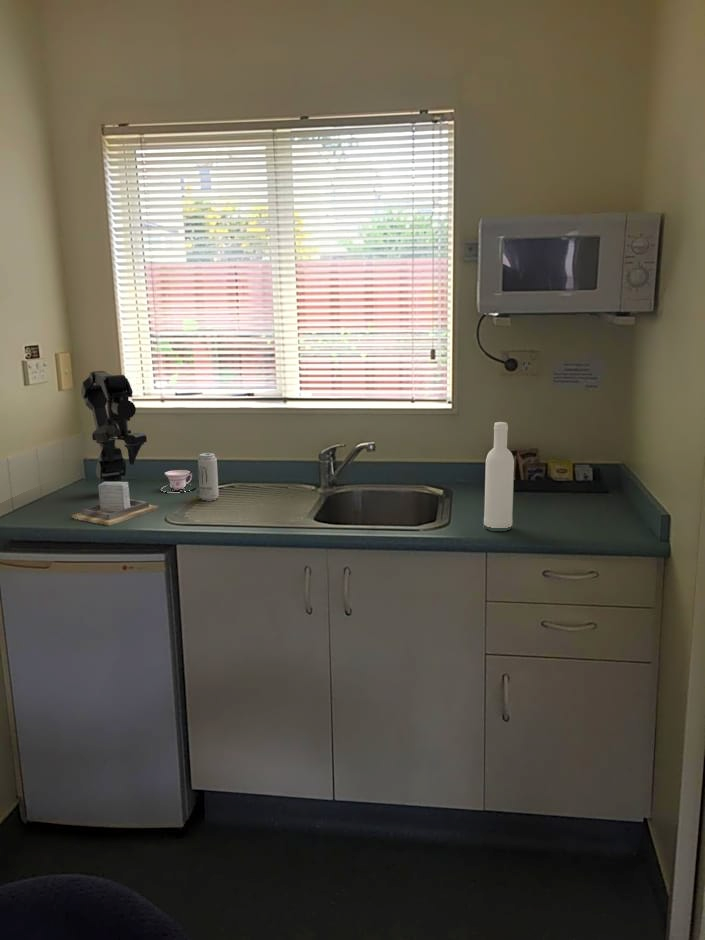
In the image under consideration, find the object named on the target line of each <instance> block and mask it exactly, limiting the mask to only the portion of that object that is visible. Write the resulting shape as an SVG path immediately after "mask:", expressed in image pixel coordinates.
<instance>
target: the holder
mask: <svg viewBox="0 0 705 940" xmlns="http://www.w3.org/2000/svg"><path fill="white" fill-rule="evenodd" d="M158 510H160V507H159V505H154V504H150V502H148V501H143V500H136V499H132V498H130V507H129V508H126V509H122V510H119V511H116V512H101V509H100V503H99V504H97V505H92V506H89V507H85V508H83V509H82V508H81V509H80V512H78V513H75V514H72V515H71V519H72V518H74V519H73V520H77V519H78V521H82V520H83V521H84V522H88V523H93V524H98V523H99V525H103V524H104V526H113V525H116V524H120V523H122V522H125V521H127V520H130V519H134V518H136V517H140V516H143V515H145V514H148V513H149V514H150V513H151V512H154V511H158Z"/></svg>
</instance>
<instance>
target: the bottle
mask: <svg viewBox="0 0 705 940" xmlns="http://www.w3.org/2000/svg"><path fill="white" fill-rule="evenodd" d="M508 425H509V424H508V423H507V422H505V421H497V422H496V421H495V422H494V425H493V447H492V449H491V450H489V451H488V453H487V454H486V455H487V456H486V458H485V473H484V474H485V477H484V514H483V515H484V516H483V526H484V525H485V526H487V527H491V528H508V527H511V526H512V527H513V511H514V510H513V506H514V505H513V504H514V474H515V472H514V471H515V458H514V456H513V453H512V451H510V450H509V449H508V431H509V426H508Z"/></svg>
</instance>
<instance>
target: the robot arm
mask: <svg viewBox="0 0 705 940" xmlns="http://www.w3.org/2000/svg"><path fill="white" fill-rule="evenodd" d="M80 389H81V391H80V392H81V393H80V394H81V399H83V400H84V405H86V407H87V408H89V410H90V411H91V412H92V416H93V420H94V421H93V422H94V426H95V430H93V432H92V435H91V436H92V441H95V443H96V444H98V445H99V446H100V453H99V455H98V458H97V463H96V467H95V475H96V476H95V477H96V478H98V479H99V480H100V482H101V483H103V482H123V481H122V477H125V476H126V474H127V473H126V472H127V471H126V469H127V461H126V459H125V458H124V456H123V452H122V449H121V448H120V447H117V446H116V440H118V441H119V440H120V441H123V442H124V443H125V444H124V447H125V448H126V449H127V454H128V462H129V465H130V466H133V465H134V463H135V462H136V458H137V456H138V454H139V452H140V449H141V448H142V446H143V445H145V443H147V435H146V434H145V433H144V432H133V433H132V430H130V429H129V427H128V422H129V421H131V418H132V417H134V416H135V414H136V410H137V407H136V405H135V404H134V402H133V401H131V400H130V399H129V398H133V388H132V386H131V383H130V381H129V379H128V378H127V376H125V375H124V374H117V375H116V374H114V375H113V374H110V373H108V372H107V371H104V370H97V371H95V370H94V371H92V372H89V375H88V377H87V378H86V379H85V380H83V382H82V384H81V388H80ZM106 406H107V407H106ZM101 483H100V484H101Z"/></svg>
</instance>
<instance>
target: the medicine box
mask: <svg viewBox="0 0 705 940" xmlns="http://www.w3.org/2000/svg"><path fill="white" fill-rule="evenodd" d="M97 486H98V497H99V504H100V509H101V512H116V511H119V510H122V509H126V508H129V507H130V499H131V498H130V488H129V482H128V481H122V482H103V483H99V484H98V485H97Z"/></svg>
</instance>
